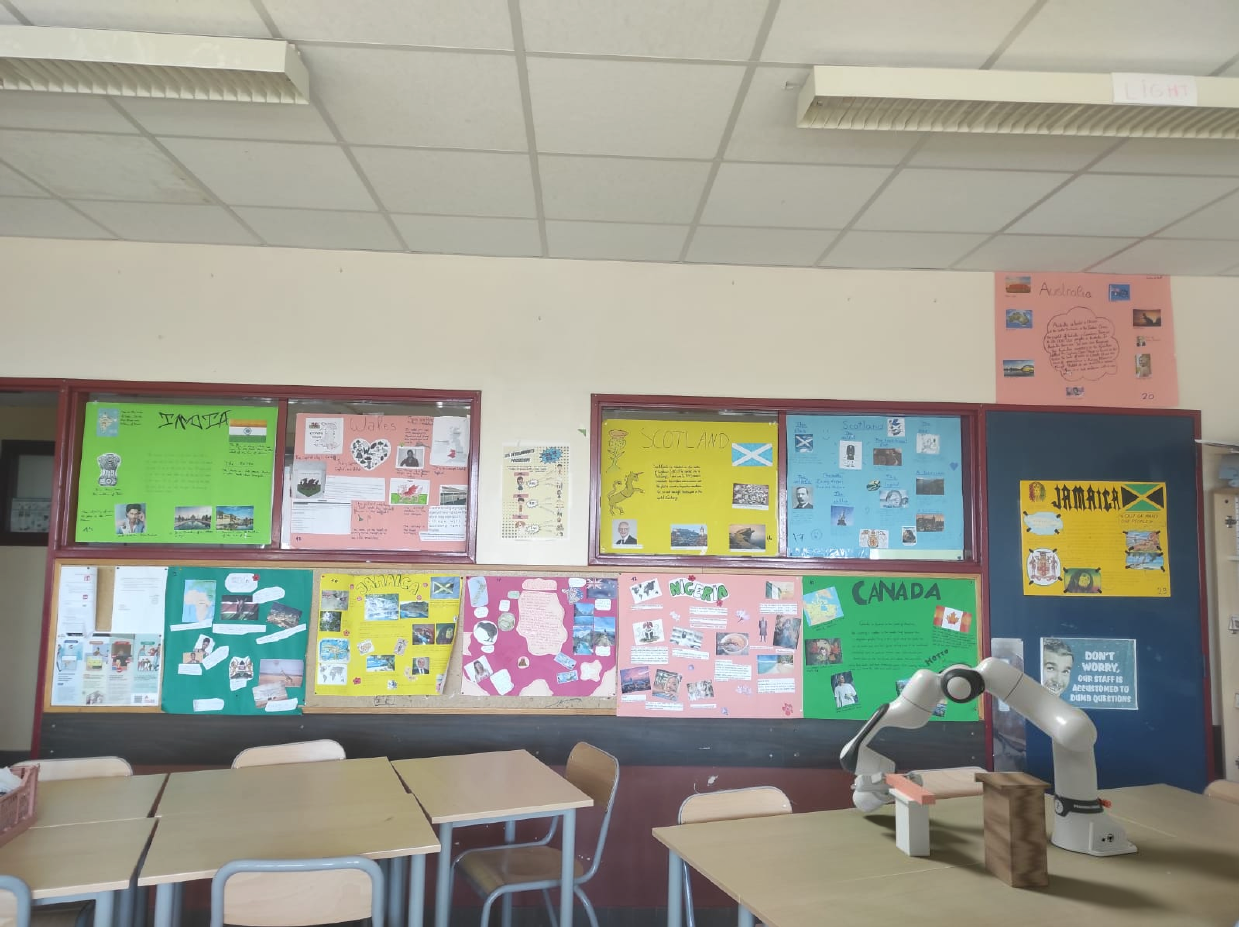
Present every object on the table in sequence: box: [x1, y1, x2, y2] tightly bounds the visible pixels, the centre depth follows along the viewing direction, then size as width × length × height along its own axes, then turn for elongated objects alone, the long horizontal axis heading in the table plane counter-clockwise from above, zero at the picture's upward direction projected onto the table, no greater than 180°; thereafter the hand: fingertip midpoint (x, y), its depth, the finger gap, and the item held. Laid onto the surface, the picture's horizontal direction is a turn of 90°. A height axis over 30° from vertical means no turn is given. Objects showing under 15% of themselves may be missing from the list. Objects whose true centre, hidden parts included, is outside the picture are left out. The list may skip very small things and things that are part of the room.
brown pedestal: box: [973, 771, 1052, 888], centre depth 217 cm, size 14×13×25 cm
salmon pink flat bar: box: [886, 773, 937, 806], centre depth 237 cm, size 4×22×2 cm, turn 7°
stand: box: [889, 789, 931, 857], centre depth 235 cm, size 8×12×16 cm, turn 7°
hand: (898, 775), depth 244 cm, fingers open, 8 cm apart
